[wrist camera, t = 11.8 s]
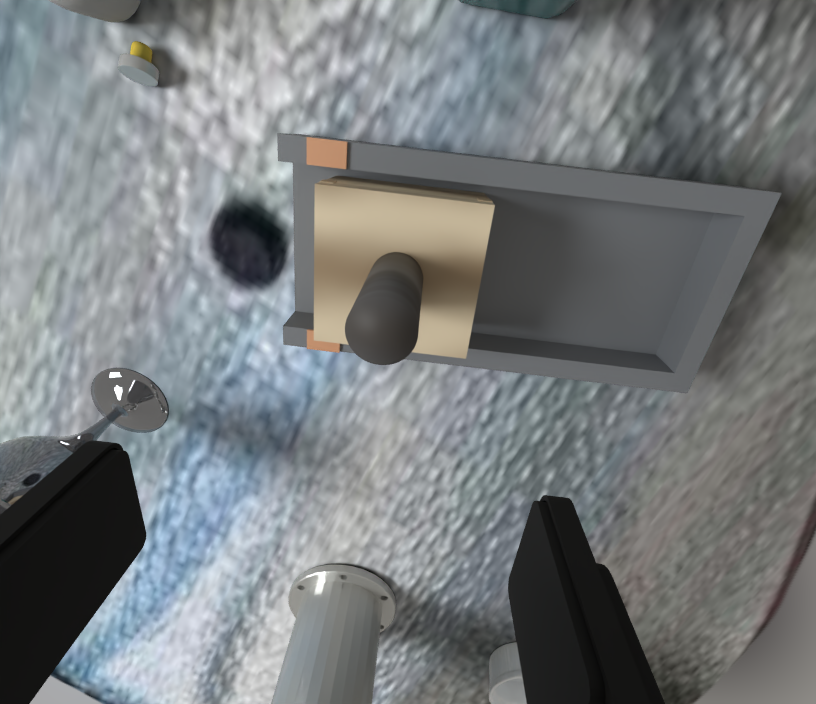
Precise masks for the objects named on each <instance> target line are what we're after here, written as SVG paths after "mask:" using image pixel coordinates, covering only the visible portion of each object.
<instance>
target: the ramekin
mask: <svg viewBox="0 0 816 704" xmlns="http://www.w3.org/2000/svg"><path fill="white" fill-rule="evenodd" d="M489 677H490V688H489V700H490V702H491V704H527V702H526V696H525V690H524V684H523V678H522V672H521V666H520V660H519V654H518V648H517V642H514V643H508V644H505V645H503V646H501V647H499V648H497V649H496V650H495V651H494V652H493V653H492V655H491V656H490V660H489Z"/></svg>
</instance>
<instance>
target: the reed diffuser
mask: <svg viewBox="0 0 816 704" xmlns="http://www.w3.org/2000/svg"><path fill="white" fill-rule="evenodd" d="M49 1H50V2H52V3H54V4H56V5H58V6H60V7H62V8H65V9H67V10H70V11H73V12H76V13H79V14H83V15H86V16H90V17H93V18H97V19H100V20H104V21H108V22H121V21H125V20H127V19H128V18H130V17H131V16H132V15H133V14H134V13H135V12H136V10H137V8H138V7H139V4H140V1H141V0H49ZM151 61H152V50H151V49H150V48H149V47H148V46H147V45H145V44H143V43H141V42H137V41H135V42H133V43H132V45H131V51H130V54H121V55H120V58H119V65H118V70H119V71H120V72H121V73H122V74H123V75H124V76H126V77H127V78H129V79H130V80H132V81H134V82H137V83H139V84H142V85H145V86H151V87H154V86H157V85H158V79H159V71H158V69H157V68H156V67H155V66H154V65H153V64H151Z"/></svg>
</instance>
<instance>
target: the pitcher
mask: <svg viewBox="0 0 816 704" xmlns="http://www.w3.org/2000/svg"><path fill="white" fill-rule="evenodd" d="M459 1H460V2H461V3H465V4H471V5H476V6H481V7H487V8H492V9H498V10H503V11H509V12H514V13H519V14H525V15H530V16H536V17H541V18H550V17H553V16H557V15H560V14H562V13H563V12H564V11H566V10H567V9H568V8H569V7H571V6H572V5H573V4H574V3H576V2H577V1H578V0H459Z"/></svg>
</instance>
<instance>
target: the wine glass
mask: <svg viewBox="0 0 816 704" xmlns="http://www.w3.org/2000/svg"><path fill="white" fill-rule="evenodd" d="M91 395H92V400H93V402H94V404H95V406H96V407H97V409H98V411H99V412H100V413H101V414H102V415H103V416H104V418H103V419H101V420H100V421H99V422H97V423H96V424H94V425H93V426H91V427H89V428H88V429H86V430H84V431H83V432H81V433H78V434H75V435H71V436H64V437H60V436H27V437H20V438H15V439H12V440H9V441H6V442H3V443H1V444H0V515H1V514H2V513H3V512H4V511H5V510H6V509H8V508H9V507H10V506H11V505H12V504H14V503H15V502H16V501H17V500H18V499H19V498H21V497H22V496H23V495H24V494H25V493H27V492H28V491H29V490H30V489H31V488H32V487H34V486H35V485H36V484H37V483H38V482H40V481H41V480H42V479H43V478H44V477H45V476H47V475H48V474H49V473H50V472H51V471H53V470H54V469H55V468H56V467H57V466H58V465H60V464H61V463H62V462H63V461H64V460H66V459H67V458H68V457H69V456H70V455H71V454H73V453H74V452H75V451H76V450H77V449H79V448H80V447H81V446H82V445H83V444H85V443H86V442H88V441H92V440H94V441H96V440H97V439H98V438H99V437H100V435H101V434H102V433H103V432H104V431H105V430H106V429H107V428H108V427H109V426H110V424H112V423H113V424H114V425H116V426H118V427H120V428H122V429H125V430H128V431H131V432H137V433H146V432H151V431H154V430H156V429H158V428H160V427H161V426H162V425H163V424H164V423H165V421H166V419H167V416H168V405H167V402H166V399H165V397H164V395H163V393H162V392H161V391H160V389H159V388H158V387H157V386H156V385H155V384H154V383H153V382H152V381H151V380H149V379H148V378H147V377H145V376H143V375H142V374H140V373H137V372H135V371H132V370H129V369H123V368H111V369H107V370H104V371H102V372H100V373H99V374H98V375H97V376H96V377H95V378H94V380H93V382H92V386H91Z"/></svg>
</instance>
